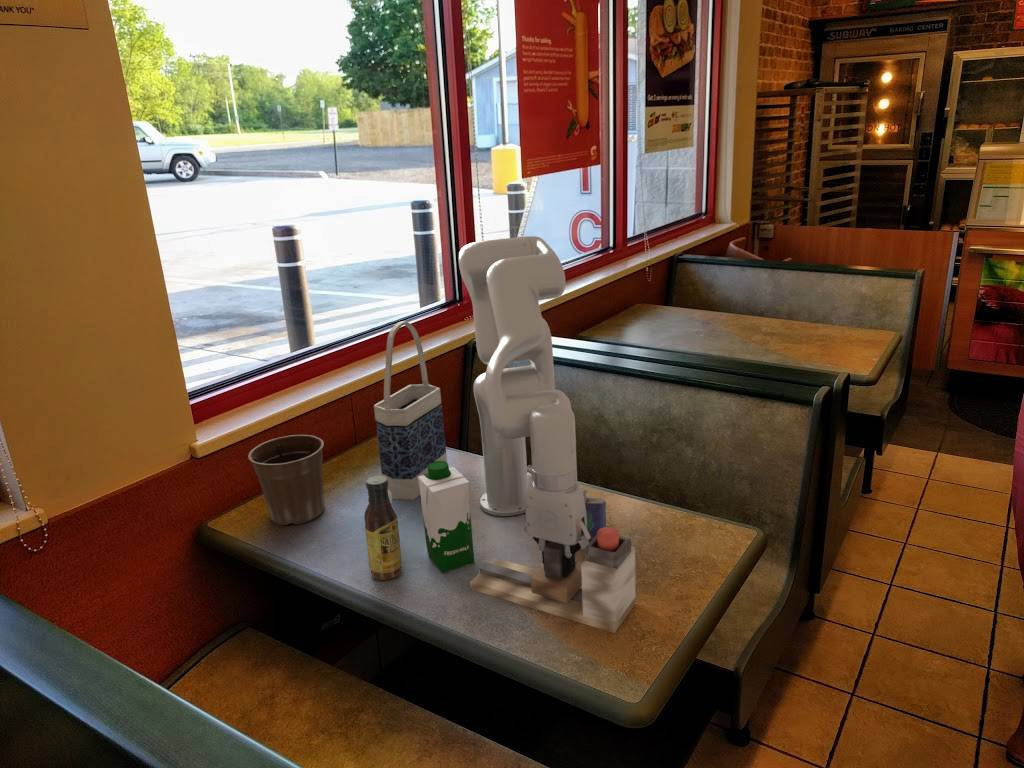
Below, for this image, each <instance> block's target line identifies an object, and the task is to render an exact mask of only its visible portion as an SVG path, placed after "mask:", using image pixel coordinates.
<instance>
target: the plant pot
mask: <svg viewBox="0 0 1024 768" xmlns="http://www.w3.org/2000/svg"><path fill="white" fill-rule="evenodd" d="M324 446H325V444H324V440H323V439H321V438H320V437H317V436H315V435H310V434H292V435H286V436H281V437H276V438H272V439H270V440H267V441H265V442H262V443H260V444H258V445H257V446H255V447H254V448H253V449H251V450H250V451H249V453H248V461H249V462H250V463H252V467H253V469H254V472H255V475H256V476H257V477H258V481H259V484H260V487H261V490H262V493H263V496H264V500H265V504H266V505H267V509H268V512H269V516H270V517H269V518H270V520H271V521H272V522H273V523H275V524H277V525H281V526H289V524H295V525H301V524H305V523H307V522H311V521H312V520H315V519H316V518H318V517H319V516H321V514H322V513H324V509H325V508H326V506H325V505H326V503H325V493H324V492H325V491H324V480H323V479H324V478H323V464H322V463H323V459H324V458H323V448H324Z"/></svg>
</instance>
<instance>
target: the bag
mask: <svg viewBox="0 0 1024 768" xmlns="http://www.w3.org/2000/svg"><path fill="white" fill-rule="evenodd" d="M403 326H405V327H406V328H408V330H409V331H410V332H411V335H412V337H413V339H414V340H413V341H414V343H415V346H416V350H417V355H418V361H419V366H420V373H421V381H422V383H421V384H420V383H419V384H407V386H405V387H403V388H401V389H399V390H397V392H395V393H393V394H391V378H392V369H393V368H392V367H393V351H394V350H393V347H394V338H395V336H396V333H397V332H398V331H399V330H400V329H401V328H402V327H403ZM386 339H387V340H386V355H385V368H384V378H383V379H384V380H383V381H384V382H383V399H382V400H381V401H378V402H377V403H376V404H374V405H373V411H374V420H375V426H376V427H375V428H376V436H377V444H378V454H379V462H380V464H379V465H380V470H381V472H380V473H381V476H385V477H386V478H387V479H388V487H387V488H388V490H389V491H390V493H391V494H392V499H395V500H415V499H417V498H418V497H419V496H421V495H420V488H419V481H418V476H422V475H424V474H428V465H429V464H430V463H432V462H435V461H445V462H447V463H448V457H447V456H448V455H447V447H446V445H447V444H446V438H445V437H446V436H445V435H446V434H445V429H444V417H443V406H442V395H441V388H440V387H438V386H435V385H432V384H430V383H429V380H428V379H429V378H428V371H427V365H426V360H425V355H424V350H423V349H424V348H423V345H422V341H421V339H420V336H419V334H418V331H417V329H416V328H415V326H414V325H412V324H411V323H410V322H408V321H403V320H402V321H399V322H396V323H395V324H394V325H393V326H392V328H391V329H390V330H389V333H388V335H387V338H386Z"/></svg>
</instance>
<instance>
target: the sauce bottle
mask: <svg viewBox="0 0 1024 768" xmlns="http://www.w3.org/2000/svg"><path fill="white" fill-rule="evenodd" d="M387 487H388V479H387V478H386V477H385V476H382V475H378V476H376V475H374V476H371V477H369V478H367V479H366V480H365V488H366V489H367V494H368V495H367V496H368V498H369V499H368V498H367V499H368V504H367V507H366V509H365V511H364V517H363V518H364V523H365V525H364V530H365V538H366V539H365V540H366V547H367V557H368V565H369V566H368V567H369V569H370V575H371V577H372V578H374V579H375V580H380V581H384V580H385V581H386V580H390V579H394V578H395V577H397V576H398V575H400V574H401V572H402V564H403V562H402V552H401V551H402V550H401V549H402V548H401V542H400V532H399V531H400V530H399V529H400V528H399V523H398V522H399V521H398V516H397V513H396V511H395V510H394V508H393V506H392V505H393V504H392V505H391V503H390V500H389V496H388V488H387Z"/></svg>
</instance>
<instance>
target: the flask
mask: <svg viewBox="0 0 1024 768" xmlns="http://www.w3.org/2000/svg"><path fill="white" fill-rule="evenodd" d="M582 492H583V496H584V501H585V507H586V516H587V530H588V532H589V534H590V536H591V538H592V539H593V538H594V537H595V536H596V535H597V531H598V530H599V529H601V528H604V527H607V513H606V512H607V510H606V507H607V502H606V499H604V498H602V497H587V494H588V490H585V489H582ZM580 540H581V538H580Z"/></svg>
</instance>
